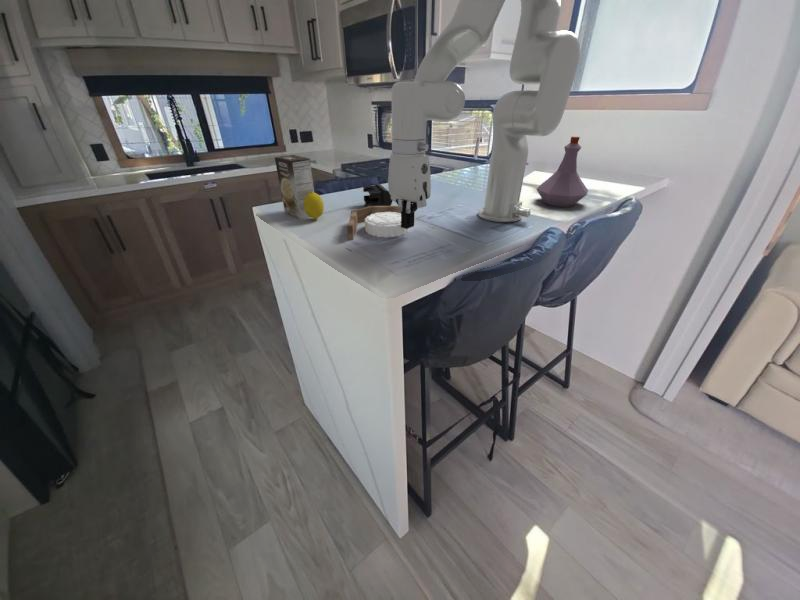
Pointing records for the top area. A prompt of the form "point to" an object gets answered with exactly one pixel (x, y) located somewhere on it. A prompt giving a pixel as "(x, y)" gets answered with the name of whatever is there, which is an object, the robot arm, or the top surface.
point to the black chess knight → (377, 196)
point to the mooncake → (384, 224)
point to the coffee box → (294, 183)
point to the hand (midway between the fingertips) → (407, 226)
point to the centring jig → (362, 213)
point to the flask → (564, 180)
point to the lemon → (313, 205)
